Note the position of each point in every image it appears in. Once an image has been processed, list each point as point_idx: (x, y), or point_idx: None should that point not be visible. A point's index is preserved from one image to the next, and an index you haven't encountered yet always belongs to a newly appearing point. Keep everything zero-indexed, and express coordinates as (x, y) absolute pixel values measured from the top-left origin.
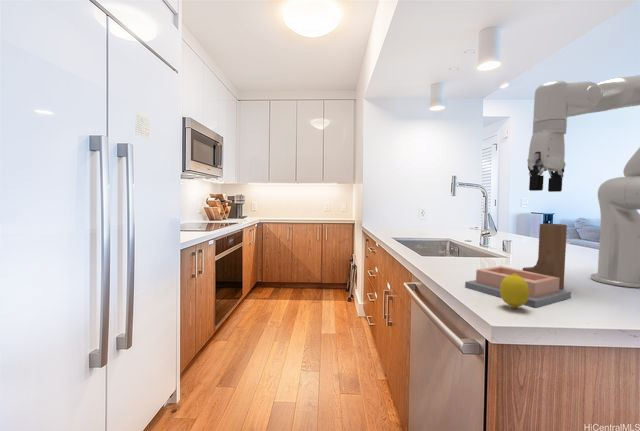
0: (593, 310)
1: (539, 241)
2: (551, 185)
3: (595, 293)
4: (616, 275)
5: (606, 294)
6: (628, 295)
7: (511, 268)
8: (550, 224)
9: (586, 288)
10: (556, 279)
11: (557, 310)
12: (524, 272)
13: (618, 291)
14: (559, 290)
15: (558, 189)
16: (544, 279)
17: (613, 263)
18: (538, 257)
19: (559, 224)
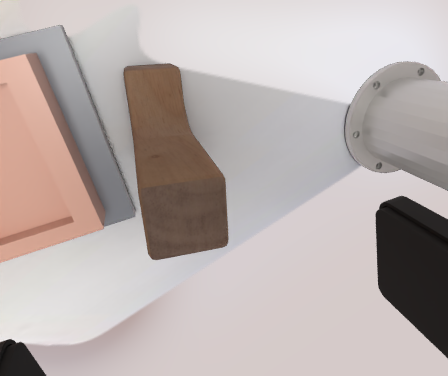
0: (104, 277)
1: (136, 161)
2: (424, 266)
3: (230, 187)
4: (372, 143)
5: (247, 196)
6: (284, 207)
7: (41, 101)
8: (152, 236)
9: (255, 151)
10: (87, 233)
11: (21, 275)
12: (45, 161)
13: (299, 181)
14: (116, 204)
15: (390, 291)
16: (40, 239)
17: (393, 145)
18: (134, 141)
19: (202, 237)
